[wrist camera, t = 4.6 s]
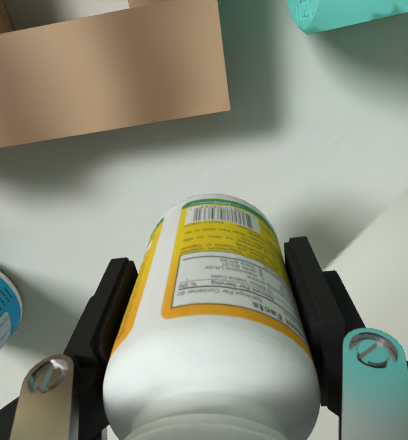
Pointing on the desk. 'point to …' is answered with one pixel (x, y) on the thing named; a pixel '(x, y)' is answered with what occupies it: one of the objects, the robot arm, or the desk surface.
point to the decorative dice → (341, 12)
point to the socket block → (111, 70)
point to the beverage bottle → (9, 309)
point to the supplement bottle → (212, 334)
